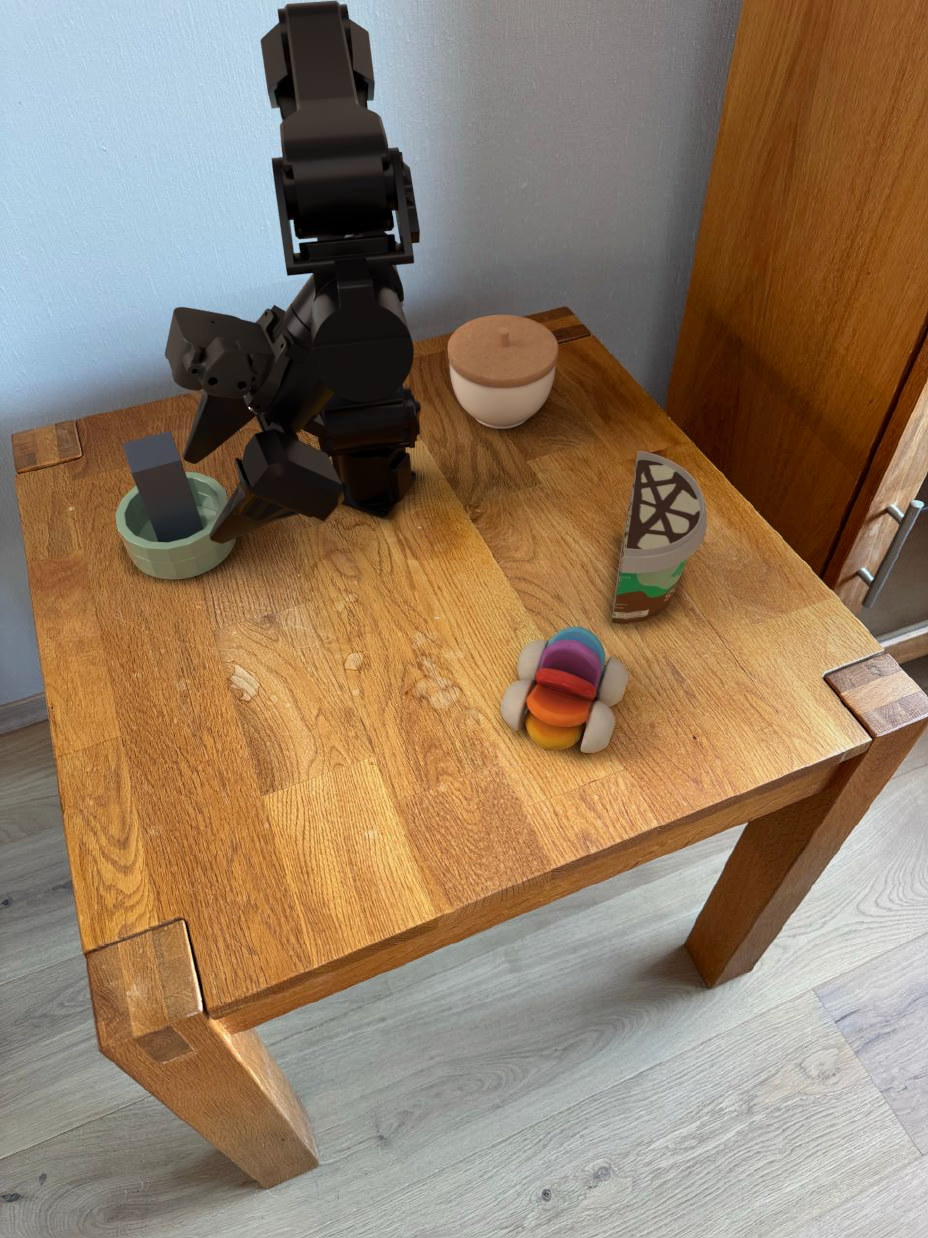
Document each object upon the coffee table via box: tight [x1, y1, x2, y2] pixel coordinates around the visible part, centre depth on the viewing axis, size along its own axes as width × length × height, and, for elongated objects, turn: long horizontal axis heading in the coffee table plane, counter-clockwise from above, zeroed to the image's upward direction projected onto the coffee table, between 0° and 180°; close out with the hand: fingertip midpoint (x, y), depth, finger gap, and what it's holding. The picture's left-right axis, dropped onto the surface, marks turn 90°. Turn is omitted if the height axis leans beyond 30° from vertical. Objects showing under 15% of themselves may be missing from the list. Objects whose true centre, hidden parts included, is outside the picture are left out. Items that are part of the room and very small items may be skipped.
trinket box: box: [447, 314, 559, 430], centre depth 91 cm, size 11×11×9 cm
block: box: [122, 430, 204, 542], centre depth 79 cm, size 4×4×10 cm
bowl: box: [115, 471, 237, 581], centre depth 82 cm, size 10×10×4 cm
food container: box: [610, 450, 708, 625], centre depth 75 cm, size 12×6×10 cm, turn 168°
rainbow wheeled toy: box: [500, 625, 630, 754], centre depth 68 cm, size 8×10×7 cm
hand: (201, 499), depth 67 cm, fingers open, 9 cm apart
